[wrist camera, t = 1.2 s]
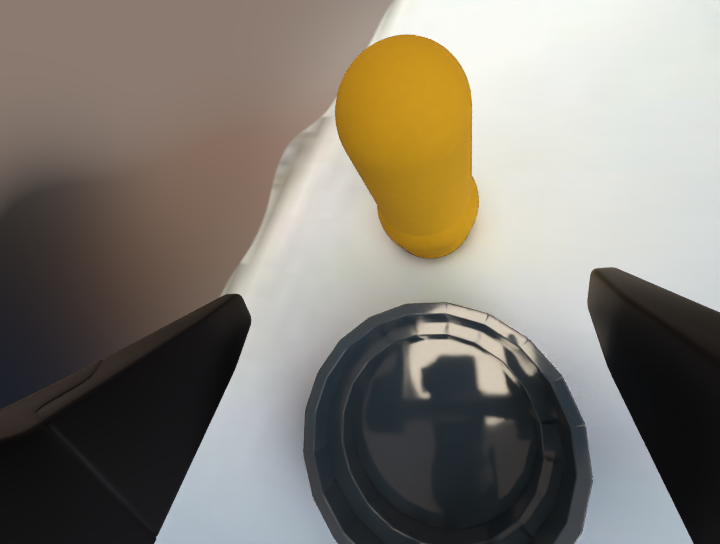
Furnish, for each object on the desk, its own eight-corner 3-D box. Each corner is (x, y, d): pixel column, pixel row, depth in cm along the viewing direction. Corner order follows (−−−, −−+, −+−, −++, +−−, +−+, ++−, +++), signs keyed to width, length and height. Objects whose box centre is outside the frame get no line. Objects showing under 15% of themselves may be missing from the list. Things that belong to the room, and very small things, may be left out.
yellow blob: (464, 274, 22) (456, 158, 10) (378, 253, 24) (278, 134, 12) (488, 189, 23) (508, -18, 10) (402, 175, 25) (334, -12, 12)
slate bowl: (532, 607, 17) (551, 684, 13) (307, 489, 22) (268, 519, 18) (587, 352, 19) (620, 349, 15) (370, 290, 24) (349, 275, 20)
